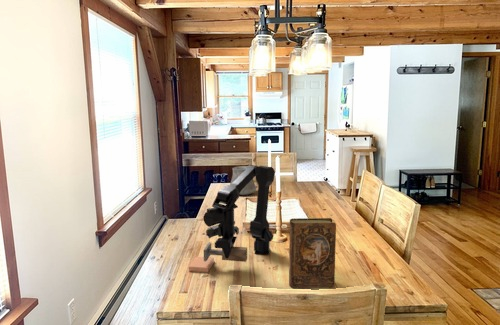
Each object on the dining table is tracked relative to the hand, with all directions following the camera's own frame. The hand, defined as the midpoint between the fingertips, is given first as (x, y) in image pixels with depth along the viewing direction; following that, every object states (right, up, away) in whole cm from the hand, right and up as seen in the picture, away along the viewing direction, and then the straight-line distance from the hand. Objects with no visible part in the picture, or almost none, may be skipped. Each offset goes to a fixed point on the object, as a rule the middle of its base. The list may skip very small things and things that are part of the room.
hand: (227, 256), depth 153 cm
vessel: (+5, +15, +125) cm, 126 cm away
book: (+32, -7, -13) cm, 35 cm away
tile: (-7, -4, +2) cm, 8 cm away
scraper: (0, -1, 0) cm, 1 cm away
